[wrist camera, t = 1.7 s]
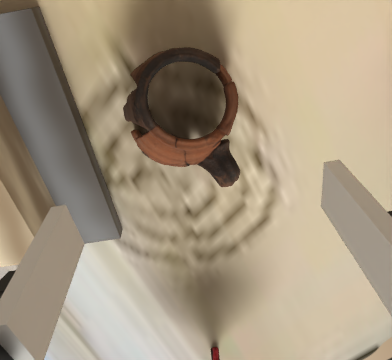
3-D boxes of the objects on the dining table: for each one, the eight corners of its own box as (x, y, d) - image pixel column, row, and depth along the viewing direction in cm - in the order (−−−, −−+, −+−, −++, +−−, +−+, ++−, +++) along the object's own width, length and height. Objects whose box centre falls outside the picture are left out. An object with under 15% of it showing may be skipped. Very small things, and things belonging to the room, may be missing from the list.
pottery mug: (103, 116, 29) (92, 97, 21) (176, 47, 30) (192, 3, 22) (194, 207, 31) (217, 221, 23) (259, 139, 32) (303, 130, 24)
